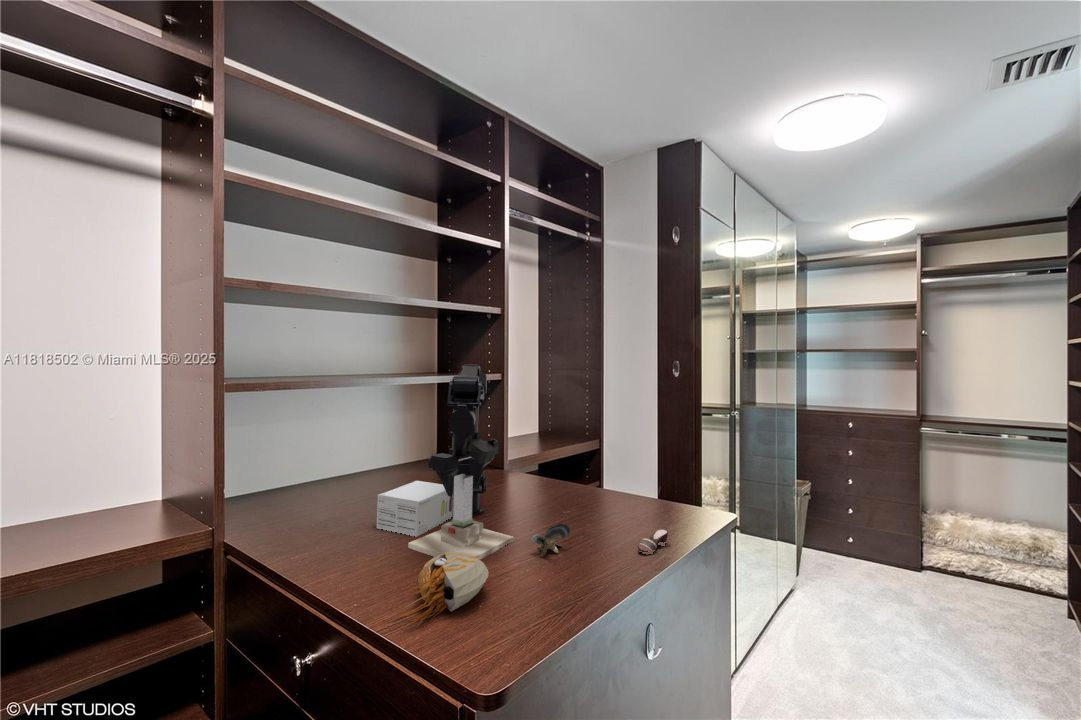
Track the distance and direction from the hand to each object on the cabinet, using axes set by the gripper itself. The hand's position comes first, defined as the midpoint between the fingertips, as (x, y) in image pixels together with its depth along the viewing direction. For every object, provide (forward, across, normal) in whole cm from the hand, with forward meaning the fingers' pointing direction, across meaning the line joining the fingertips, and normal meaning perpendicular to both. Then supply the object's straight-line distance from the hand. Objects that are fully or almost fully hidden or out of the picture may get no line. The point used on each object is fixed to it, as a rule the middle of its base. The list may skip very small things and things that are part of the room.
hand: (463, 491), depth 120 cm
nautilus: (+13, -23, -15) cm, 31 cm away
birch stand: (+13, 0, 0) cm, 13 cm away
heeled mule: (+13, +25, -39) cm, 49 cm away
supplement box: (+13, +4, +20) cm, 24 cm away
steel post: (+8, 0, 0) cm, 8 cm away
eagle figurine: (+13, +9, -20) cm, 26 cm away
